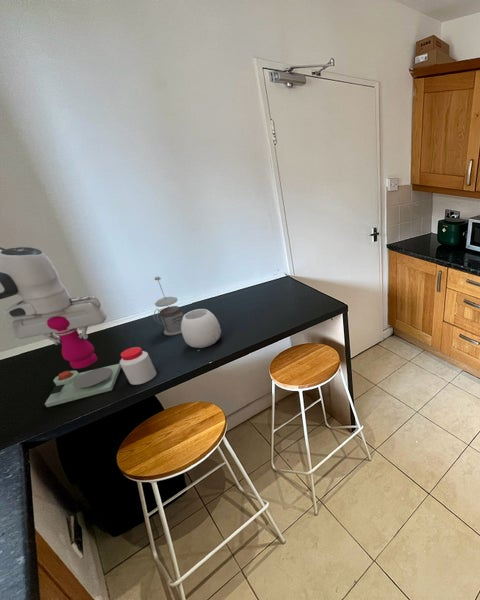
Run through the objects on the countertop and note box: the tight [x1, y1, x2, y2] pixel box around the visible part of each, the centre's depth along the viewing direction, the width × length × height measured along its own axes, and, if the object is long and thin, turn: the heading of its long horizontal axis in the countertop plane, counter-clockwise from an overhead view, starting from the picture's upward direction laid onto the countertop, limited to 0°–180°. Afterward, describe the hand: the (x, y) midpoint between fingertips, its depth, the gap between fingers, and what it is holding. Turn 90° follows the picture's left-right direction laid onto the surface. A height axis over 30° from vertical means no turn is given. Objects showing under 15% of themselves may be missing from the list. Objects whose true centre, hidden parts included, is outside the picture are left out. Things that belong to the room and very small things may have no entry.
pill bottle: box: [119, 346, 157, 386], centre depth 107 cm, size 8×8×11 cm
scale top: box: [49, 367, 113, 396], centre depth 104 cm, size 15×10×1 cm
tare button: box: [57, 370, 72, 380], centre depth 105 cm, size 3×3×2 cm
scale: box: [44, 363, 122, 408], centre depth 105 cm, size 16×14×3 cm
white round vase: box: [181, 308, 222, 349], centre depth 125 cm, size 13×13×14 cm
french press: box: [153, 276, 184, 336], centre depth 131 cm, size 10×12×25 cm
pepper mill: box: [47, 316, 98, 370], centre depth 97 cm, size 7×7×20 cm
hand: (72, 341), depth 98 cm, fingers closed on pepper mill, 4 cm apart
